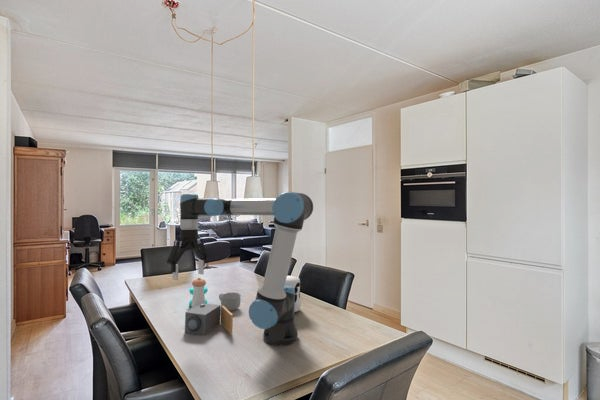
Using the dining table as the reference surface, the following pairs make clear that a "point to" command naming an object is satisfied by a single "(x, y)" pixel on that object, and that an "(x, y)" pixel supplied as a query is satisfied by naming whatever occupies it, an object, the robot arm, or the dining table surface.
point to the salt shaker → (198, 292)
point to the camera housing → (202, 318)
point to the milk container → (295, 283)
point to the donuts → (192, 294)
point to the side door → (226, 319)
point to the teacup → (230, 300)
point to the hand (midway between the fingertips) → (188, 276)
